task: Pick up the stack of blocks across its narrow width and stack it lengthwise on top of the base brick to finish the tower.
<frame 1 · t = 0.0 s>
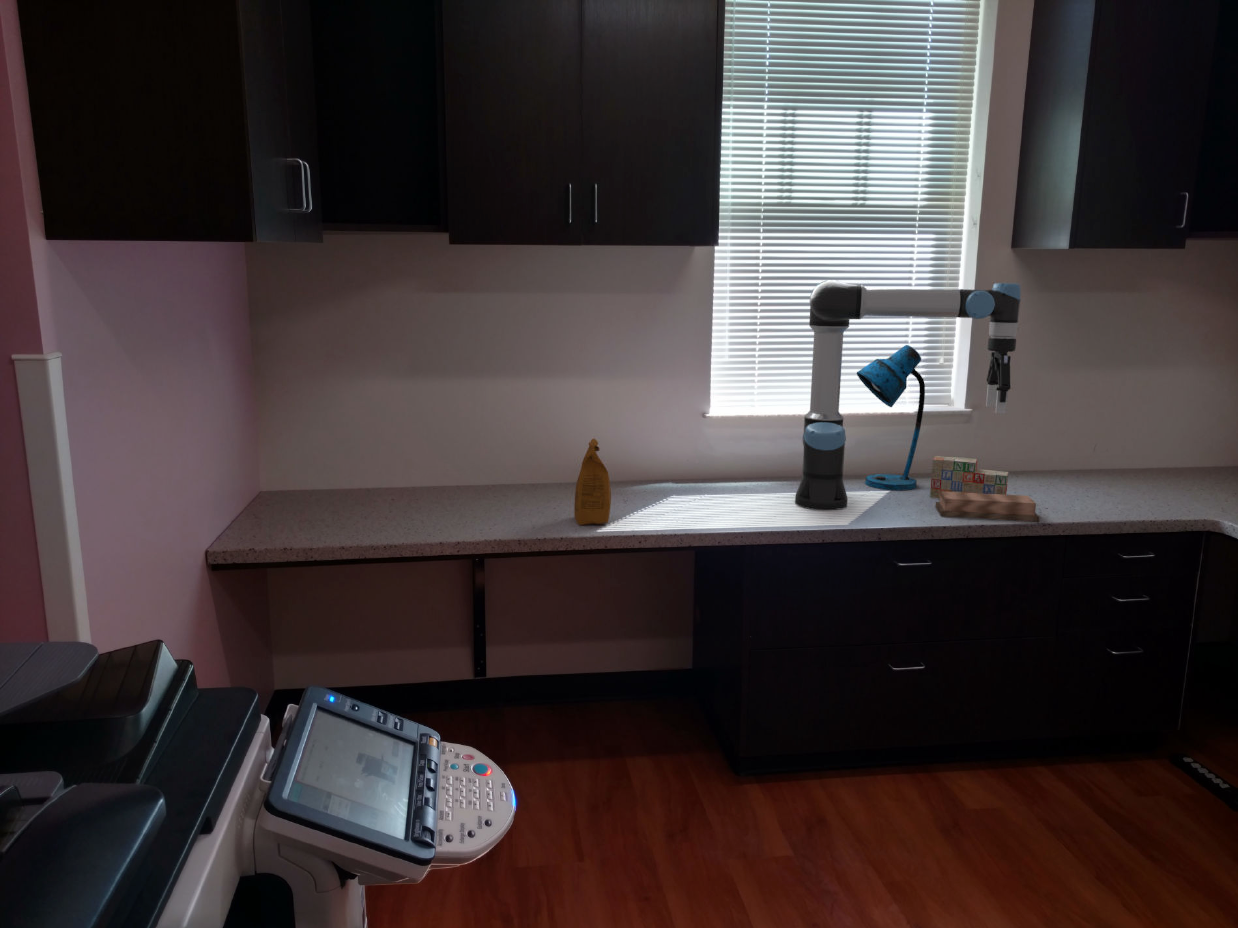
hand: (995, 410, 274), 28 cm above the counter, fingers open, 13 cm apart
stack of blocks: (967, 500, 283), on the counter
desk lamp: (884, 485, 302), on the counter
coffee package: (592, 521, 254), on the counter
base brick: (985, 514, 266), on the counter
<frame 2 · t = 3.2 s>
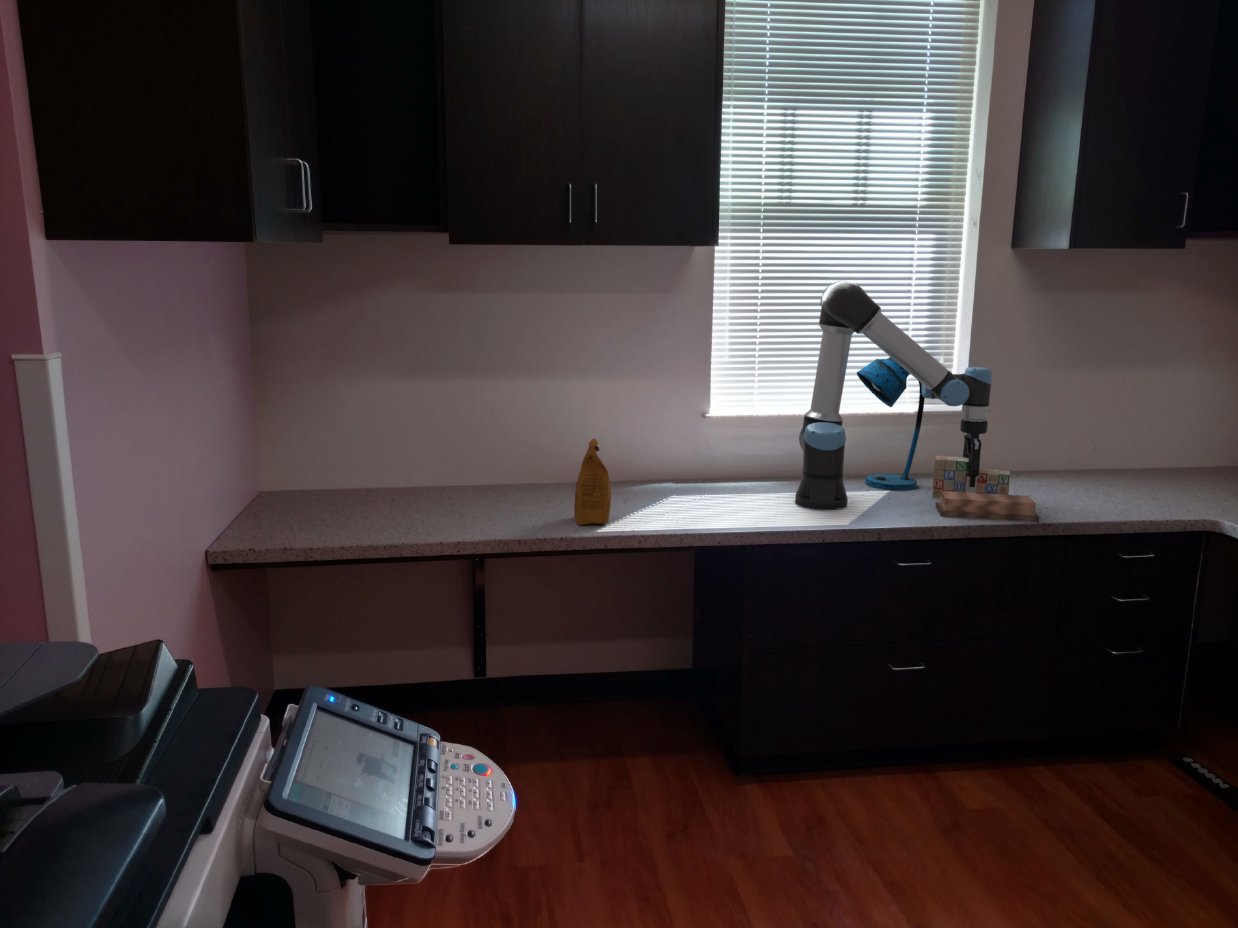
hand: (968, 493, 283), 2 cm above the counter, fingers closed on stack of blocks, 7 cm apart
stack of blocks: (969, 500, 283), on the counter, touching gripper
everything else where it was.
when the fingers open (8 cm above the counter, at t = 10.1 s): stack of blocks stays where it is, resting on base brick.
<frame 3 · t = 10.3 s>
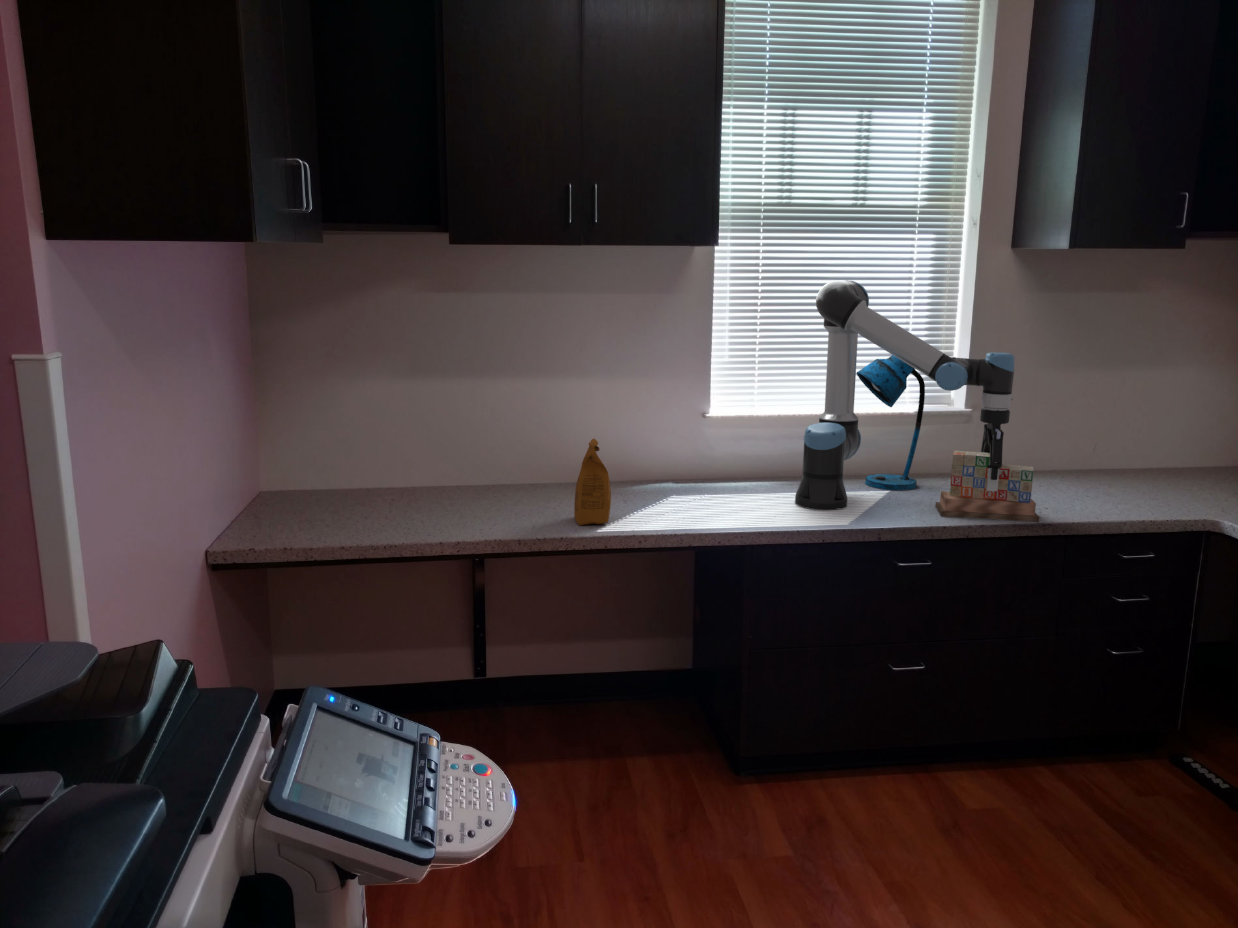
hand: (988, 486, 264), 8 cm above the counter, fingers open, 9 cm apart
stack of blocks: (989, 497, 265), point 5 cm above the counter, touching base brick
everything else where it was.
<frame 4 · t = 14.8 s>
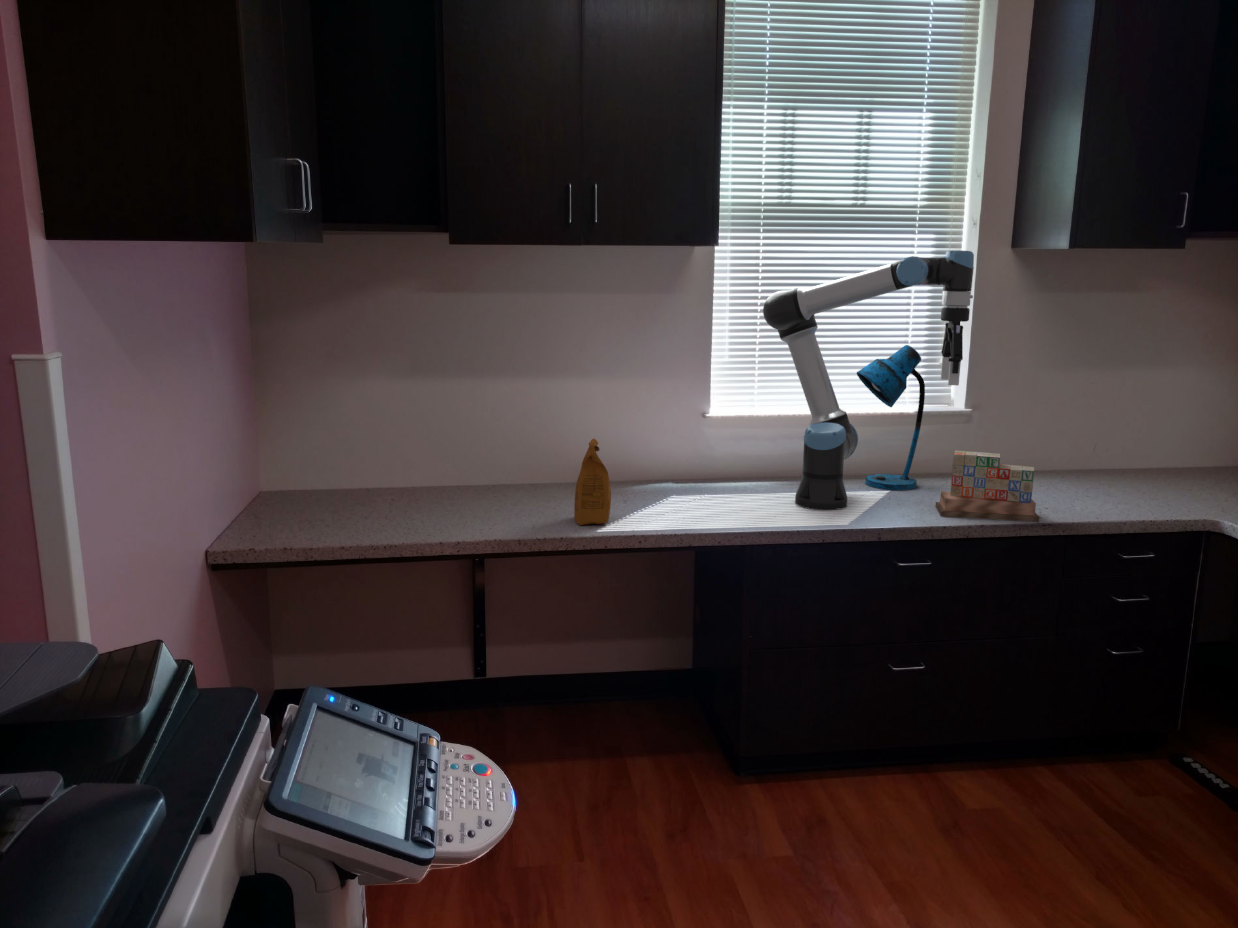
hand: (949, 382, 266), 37 cm above the counter, fingers open, 13 cm apart
nothing on the counter moved.
at the end: stack of blocks inside the target area on the base brick (0.8 cm from its centre), point 4.8 cm above the base brick's base; stack of blocks tilted 0°; the gripper is holding nothing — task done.
